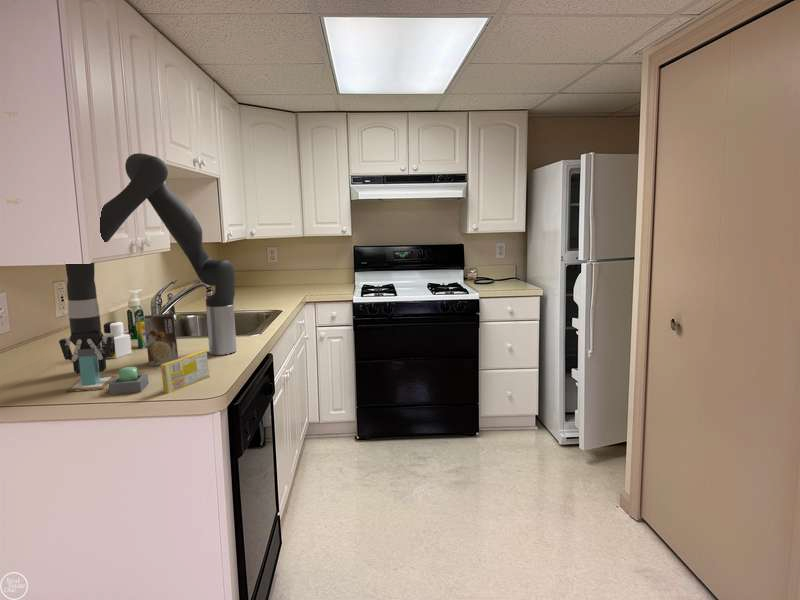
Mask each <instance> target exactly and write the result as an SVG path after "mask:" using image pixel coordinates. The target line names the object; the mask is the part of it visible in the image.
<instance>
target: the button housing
mask: <svg viewBox="0 0 800 600" xmlns="http://www.w3.org/2000/svg"><path fill="white" fill-rule="evenodd" d="M137 374H138V380H137V381H127V382H120V380H119V375H117V376H116V378H115V379H114V380H112V381H111V382H110V383H109V385H108V392H109V395H110V394H111V395H121V394H120V393H124V394H136V393H135V392H137V393H142V392H143V391H144V390H145V388H146V387H147V386H148V385H149V384H150V383H149V374H148V373H137ZM142 390H143V391H142Z"/></svg>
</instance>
